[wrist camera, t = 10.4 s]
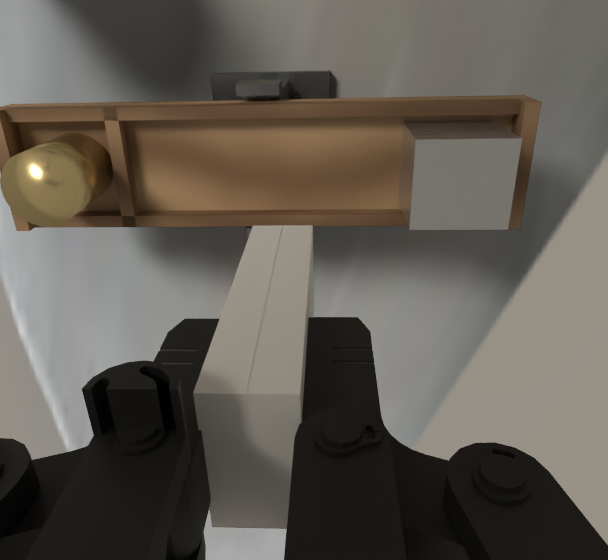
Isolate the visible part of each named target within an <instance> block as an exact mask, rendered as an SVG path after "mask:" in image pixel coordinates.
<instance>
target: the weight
mask: <svg viewBox="0 0 608 560" xmlns="http://www.w3.org/2000/svg"><path fill="white" fill-rule="evenodd" d="M112 180H113V166H112V161H111V158H110V156H109V154H108V153H107V151H106V150H105V148H104V147H103V146H102V145H101V144H100V143H99V142H98V141H96V140H95V139H93V138H92V137H90V136H87V135H85V134H81V133H67V134H64V135H61V136H59V137H56V138H54V139H52V140H49V141H47V142H45V143H42V144H40V145H38V146H35V147H33V148H31V149H28V150H26V151H24V152H21V153H19V154H17V155H15V156H13V157H11V158H10V159H9V160H8V161H7V162H6V164H5V165H4V167H3V169H2V172H1V180H0V182H1V189H2V193H3V195H4V198H5V200H6V202H7V203H8V205H9V206H10V207H11V209H12V210H13V211H14V212H15V213H16V214H17V215H18V216H20V217H21V218H23V219H24V220H26V221H28V222H29V223H32V224H34V225H38V226H43V227H54V226H58V225H61V224H63V223H65V222H66V221H68V220H69V219H70V218H72V217H73V216H74V215H76V214H77V213H78V212H80V211H81V210H82V209H83V208H85V207H86V206H87V205H89V204H90V203H91V202H93V201H94V200H95V199H97V198H98V197H99V196H101V195H102V194H103V193H104V192H106V191H107V189H108V188H109V187H110V185H111V183H112Z"/></svg>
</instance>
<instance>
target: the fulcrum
mask: <svg viewBox="0 0 608 560" xmlns="http://www.w3.org/2000/svg"><path fill="white" fill-rule="evenodd" d="M211 79H212V90H213V101H223V100H280V99H330V71H288V72H239V73H212V74H211ZM252 227H253V226H247V227H246V233H247V237H249V235H250V232H251V230H252Z"/></svg>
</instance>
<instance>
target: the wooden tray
mask: <svg viewBox="0 0 608 560" xmlns="http://www.w3.org/2000/svg"><path fill="white" fill-rule="evenodd" d="M540 107H541V102H540V101H537V100H535V99H532V98H530V97H527V96H525V95H509V96H452V97H395V98H337V99H280V100H223V101H165V102H108V103H51V104H10V105H6V106H3V107H0V172H2V169H3V167H4V165H5V164H6V162H7V161H8V160H9V159H10V158H11V157H13V156H15V155H17V154H19V153H21V152H24V151H26V150H28V149H31V148H33V147H35V146H38V145H40V144H42V143H45V142H47V141H49V140H52V139H54V138H56V137H59V136H61V135H64V134H67V133H81V134H85V135H87V136H90V137H92V138H93V139H95V140H96V141H98V142H99V143H100V144H101V145H102V146H103V147H104V148H105V150H106V151H107V153H108V154H109V156H110V158H111V161H112V166H113V180H112V183H111V185H110V187H109V188H108V189H107V191H106V192H104V193H103V194H102V195H101V196H99V197H98V198H97V199H95V200H94V201H93V202H91V203H90V204H89V205H87V206H86V207H85V208H83V209H82V210H81V211H80V212H78V213H77V214H76V215H74V216H73V217H72V218H70V219H69V220H68V221H66V222H65V223H63V224H61V225H58V226H54V227H221V226H273V225H313V226H408V225H407V222H406V219H405V217H404V214H403V211H402V209H401V206H400V203H399V184H400V167H401V150H402V133H403V122H428V121H495V122H497V123H498V124H500V125H501V126H503V127H505V128H506V129H508V130H509V131H511V132H513V133H514V134H516V135H518V136H519V137H521V138H522V143H521V149H520V156H519V162H518V168H517V175H516V181H515V188H514V194H513V200H512V207H511V213H510V220H509V226H508V229H520V228H521V222H522V216H523V210H524V204H525V198H526V192H527V186H528V180H529V174H530V168H531V162H532V156H533V150H534V144H535V138H536V132H537V125H538V119H539V113H540ZM10 208H11V207H10ZM11 211H12V215H13V219H14V222H15V226H16V229H17V231H30V230H32V229H33V228H34V227H43V226H38V225H34V224H32V223H29V222H28V221H26V220H24V219H23V218H21V217H20V216H18V215H17V214H16V213H15V212H14V211H13V210H12V209H11Z"/></svg>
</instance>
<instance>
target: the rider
mask: <svg viewBox="0 0 608 560" xmlns="http://www.w3.org/2000/svg"><path fill="white" fill-rule="evenodd" d="M521 143H522V138H521V137H519V136H518V135H516V134H514V133H513V132H511V131H509V130H508V129H506V128H505V127H503V126H501V125H500V124H498V123H497V122H495V121H428V122H403V133H402V150H401V167H400V184H399V203H400V206H401V209H402V211H403V214H404V217H405V219H406V222H407V225H408V228H409V230H508V226H509V220H510V213H511V207H512V200H513V194H514V188H515V181H516V175H517V168H518V162H519V156H520V149H521Z"/></svg>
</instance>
